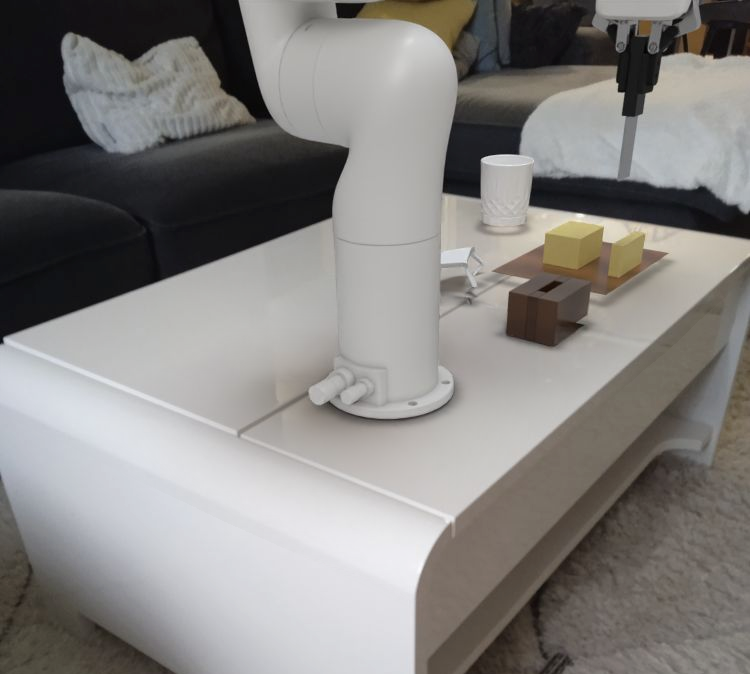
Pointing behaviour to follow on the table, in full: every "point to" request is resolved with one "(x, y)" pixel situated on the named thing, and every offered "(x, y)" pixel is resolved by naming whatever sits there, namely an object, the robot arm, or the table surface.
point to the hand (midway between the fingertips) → (635, 90)
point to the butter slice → (626, 254)
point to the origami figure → (462, 263)
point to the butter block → (573, 244)
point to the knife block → (547, 308)
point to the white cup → (505, 189)
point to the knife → (632, 104)
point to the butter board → (592, 271)
